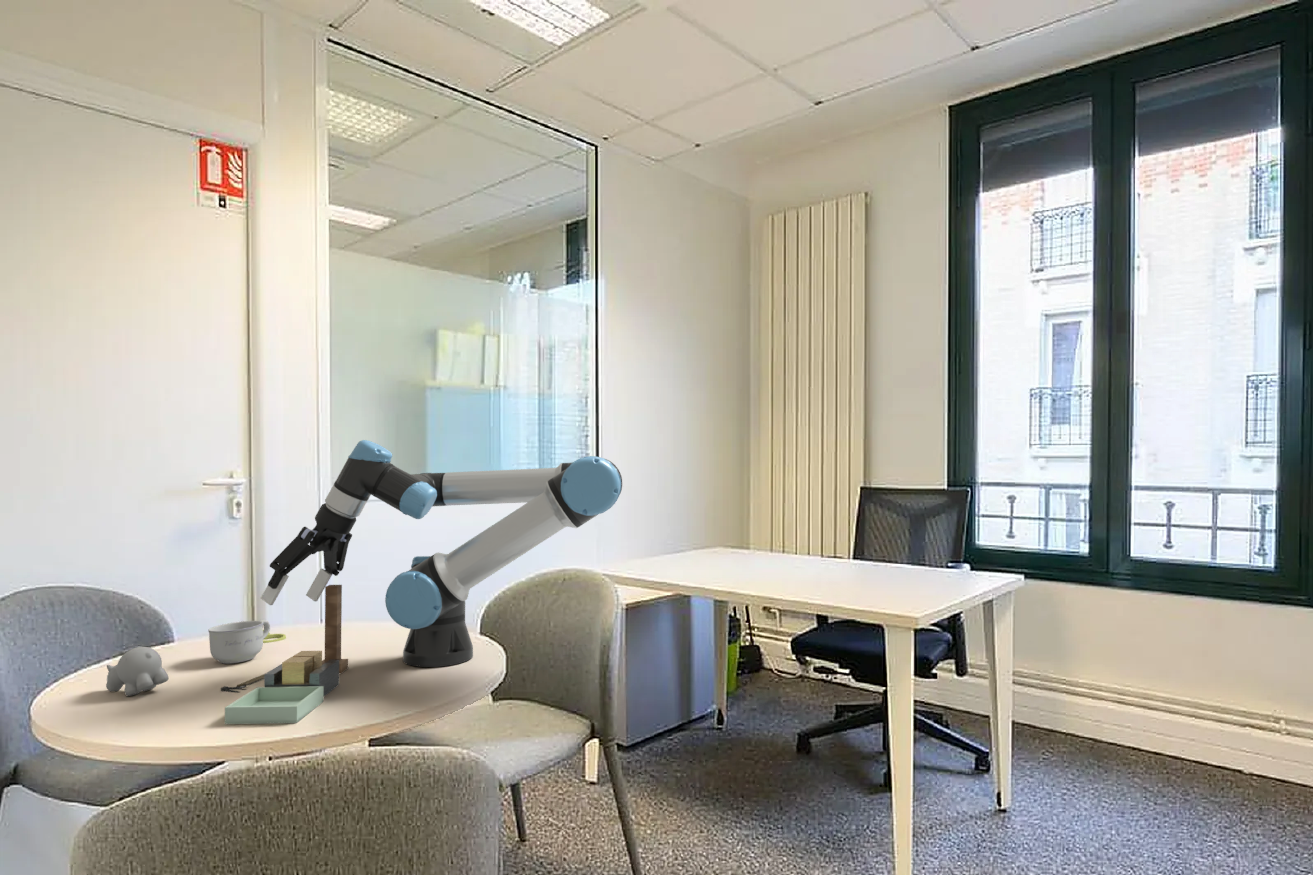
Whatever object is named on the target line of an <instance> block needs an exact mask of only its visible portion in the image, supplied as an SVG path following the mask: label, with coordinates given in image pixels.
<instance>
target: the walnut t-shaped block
mask: <svg viewBox="0 0 1313 875" xmlns="http://www.w3.org/2000/svg"><path fill="white" fill-rule="evenodd" d="M324 590H325V593H324V659H322V665H323V664H325V663H326V662H327V661H329V660H330V659H339V673H341V674H343V673H344V672H345V671H347V670H348V669H349V658H342V611H343V610H342V606H343V605H342V603H343V602H342V601H343V600H342V599H343V598H342V597H343V596H342V594H343V593H342V591H343V585H342V584H329V585H328V584H327V585H326V586H325V588H324ZM347 668H348V669H347Z"/></svg>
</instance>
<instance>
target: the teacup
mask: <svg viewBox="0 0 1313 875" xmlns="http://www.w3.org/2000/svg"><path fill="white" fill-rule="evenodd" d="M263 630H264V631H263ZM270 631H271V624H270V622H269V621H268V620H267V619H260V620H245V621H244V620H242V621H235V622H229V623H222V624H218V625H215V626H213V627H210V628H209V629H208V631H207V632H208V635H209V637H208V638H209V652H210V656H211V657H212V658H213V659H214V660H216V661H218V662H219V663H220V664H225V665H227V664H237V663H242V662H247V661H250V660H252V659H254V658H256V656H257V655H258V654H259V653H260V652H261V651H262V649H263V646H264V643H263V639H264V638H265V637H266V636H267V635H268V633H270Z"/></svg>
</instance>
